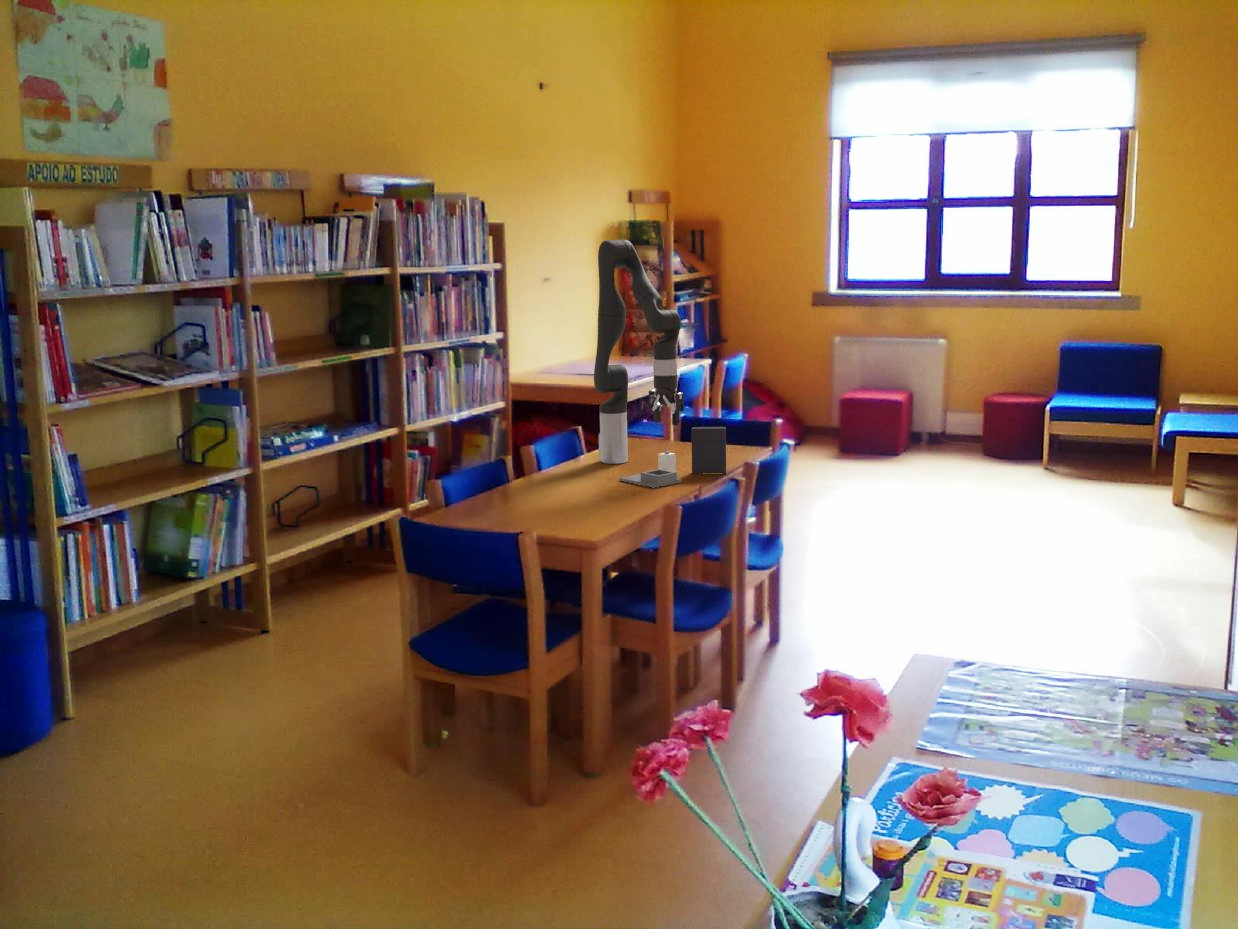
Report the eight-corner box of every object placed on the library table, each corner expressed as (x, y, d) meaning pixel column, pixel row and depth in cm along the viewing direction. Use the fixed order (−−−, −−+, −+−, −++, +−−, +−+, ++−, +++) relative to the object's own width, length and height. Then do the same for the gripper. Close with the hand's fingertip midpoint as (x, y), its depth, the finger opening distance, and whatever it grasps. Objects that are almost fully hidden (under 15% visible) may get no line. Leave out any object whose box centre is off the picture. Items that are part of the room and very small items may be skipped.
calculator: (726, 471, 389) (725, 426, 387) (726, 474, 385) (725, 428, 382) (692, 472, 391) (691, 426, 388) (691, 474, 386) (691, 428, 383)
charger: (658, 475, 387) (658, 451, 386) (667, 473, 390) (667, 449, 388) (667, 476, 384) (666, 452, 383) (676, 474, 387) (675, 451, 385)
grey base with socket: (619, 481, 379) (618, 470, 378) (647, 475, 387) (647, 464, 386) (653, 488, 367) (652, 477, 366) (681, 482, 375) (681, 471, 374)
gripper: (641, 372, 384) (642, 423, 387) (671, 375, 373) (672, 427, 376) (659, 370, 388) (660, 420, 391) (689, 373, 378) (690, 424, 381)
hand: (666, 423), depth 384 cm, fingers open, 8 cm apart
